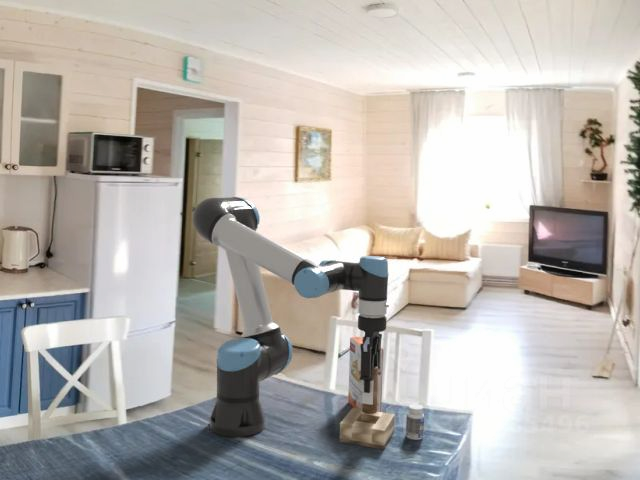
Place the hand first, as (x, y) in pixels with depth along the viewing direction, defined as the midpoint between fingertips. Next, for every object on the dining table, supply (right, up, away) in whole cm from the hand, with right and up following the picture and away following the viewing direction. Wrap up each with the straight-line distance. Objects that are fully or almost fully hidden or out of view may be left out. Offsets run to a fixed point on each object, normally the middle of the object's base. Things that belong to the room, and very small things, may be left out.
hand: (369, 400), depth 159 cm
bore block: (-1, -10, +1) cm, 10 cm away
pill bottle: (+12, -11, +2) cm, 16 cm away
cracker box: (0, -8, +20) cm, 22 cm away
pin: (0, -3, 0) cm, 3 cm away
